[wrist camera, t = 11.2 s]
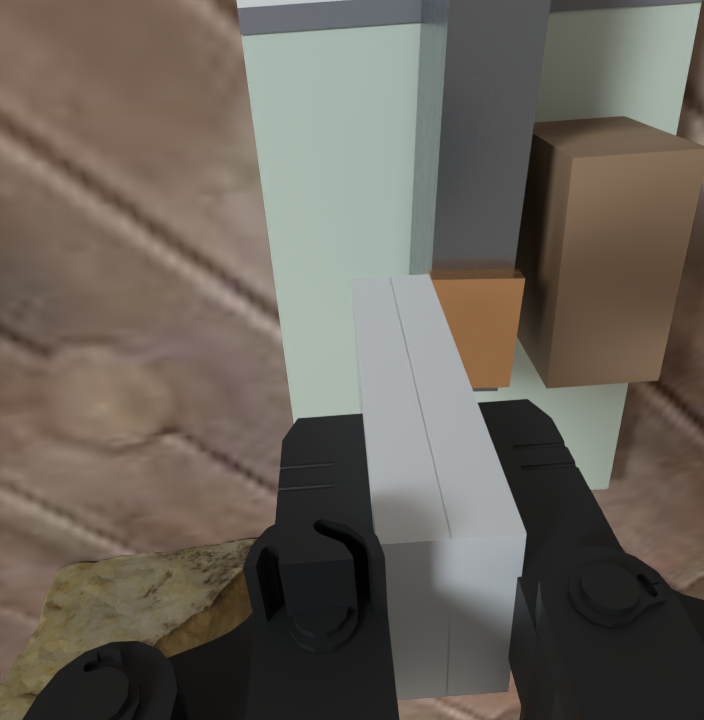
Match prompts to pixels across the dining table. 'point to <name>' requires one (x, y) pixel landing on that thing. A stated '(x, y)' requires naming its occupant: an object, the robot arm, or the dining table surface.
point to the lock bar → (476, 169)
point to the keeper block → (603, 247)
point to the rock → (131, 611)
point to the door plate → (396, 169)
